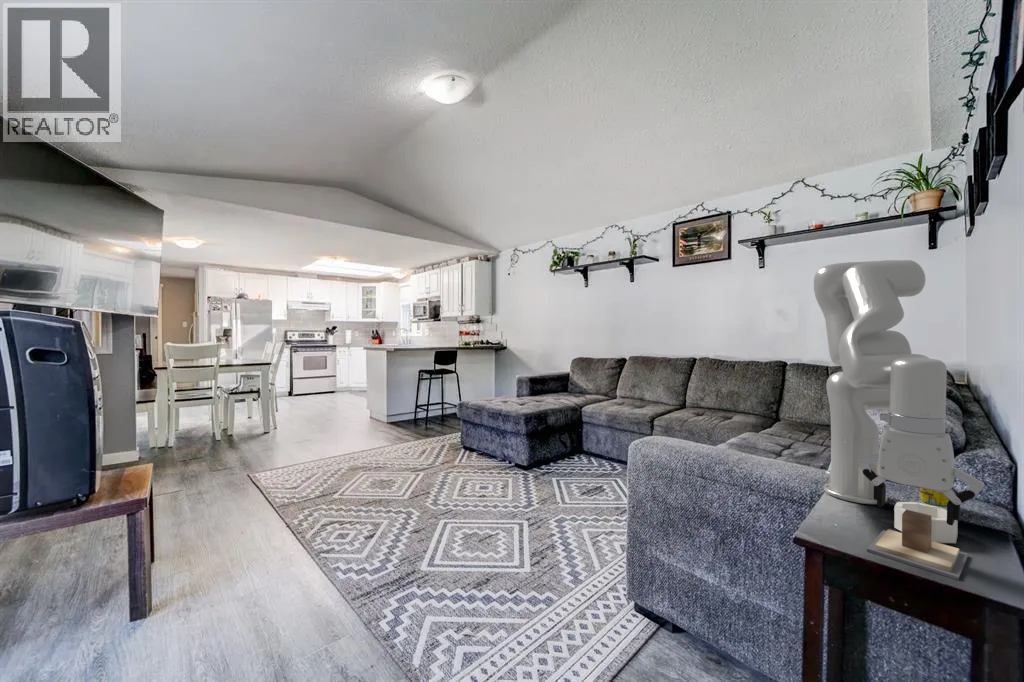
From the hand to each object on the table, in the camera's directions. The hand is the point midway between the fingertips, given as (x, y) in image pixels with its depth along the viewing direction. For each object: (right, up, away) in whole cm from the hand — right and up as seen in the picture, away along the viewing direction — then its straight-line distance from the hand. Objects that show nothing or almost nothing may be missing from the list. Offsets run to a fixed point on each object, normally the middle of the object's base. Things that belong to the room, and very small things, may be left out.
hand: (914, 513), depth 80 cm
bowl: (+9, -7, +8) cm, 14 cm away
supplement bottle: (+25, -7, +20) cm, 33 cm away
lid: (0, -7, -1) cm, 7 cm away
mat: (0, -7, -1) cm, 7 cm away
